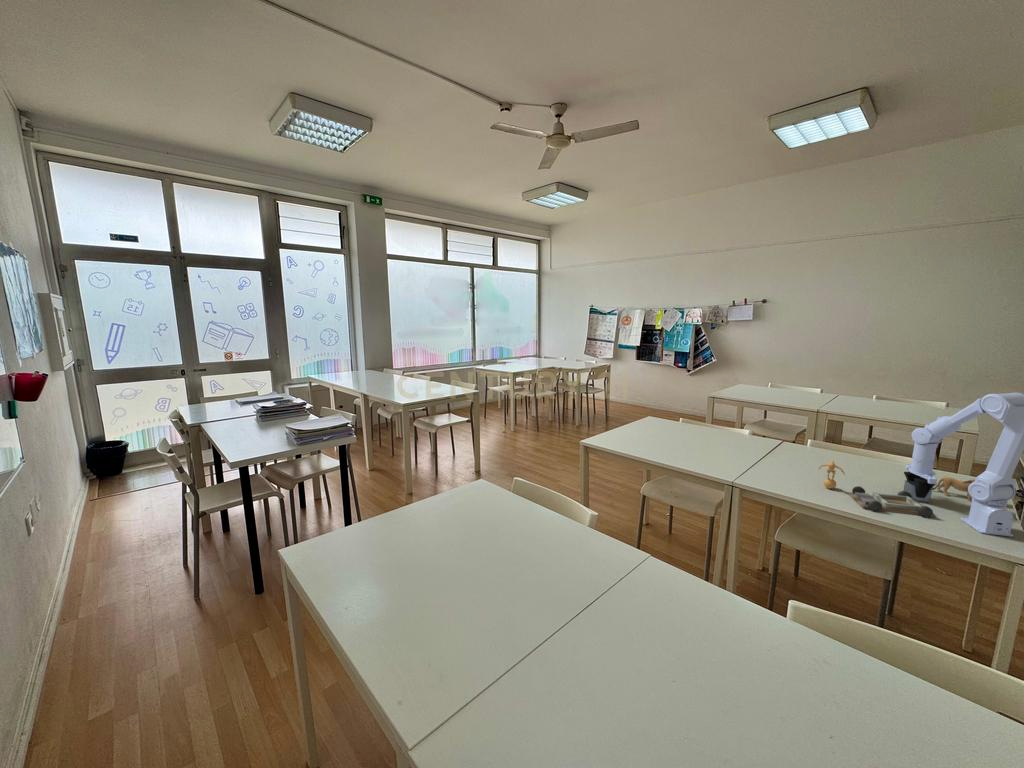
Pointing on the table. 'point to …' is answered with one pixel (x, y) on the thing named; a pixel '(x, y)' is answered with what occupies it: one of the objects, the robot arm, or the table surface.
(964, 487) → the lion figurine
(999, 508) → the robot arm
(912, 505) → the toy car chassis
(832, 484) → the figurine
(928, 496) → the brushed grey box
